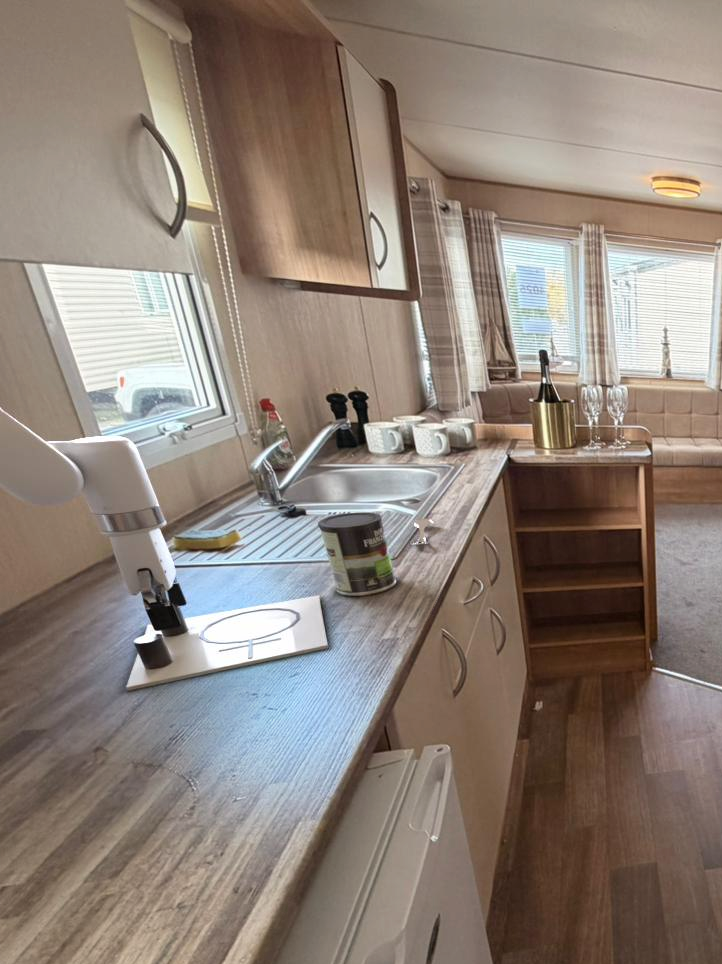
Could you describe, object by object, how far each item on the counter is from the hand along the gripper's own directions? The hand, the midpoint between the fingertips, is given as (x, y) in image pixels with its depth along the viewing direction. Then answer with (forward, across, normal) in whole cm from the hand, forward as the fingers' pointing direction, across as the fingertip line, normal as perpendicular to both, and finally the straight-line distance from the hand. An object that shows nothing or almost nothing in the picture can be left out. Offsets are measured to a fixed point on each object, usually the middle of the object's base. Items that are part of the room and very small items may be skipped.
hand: (171, 617), depth 106 cm
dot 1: (+3, +12, -1) cm, 12 cm away
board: (+4, +6, +8) cm, 10 cm away
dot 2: (+3, 0, 0) cm, 3 cm away
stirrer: (+4, -34, +42) cm, 54 cm away
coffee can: (+4, -8, +28) cm, 29 cm away
